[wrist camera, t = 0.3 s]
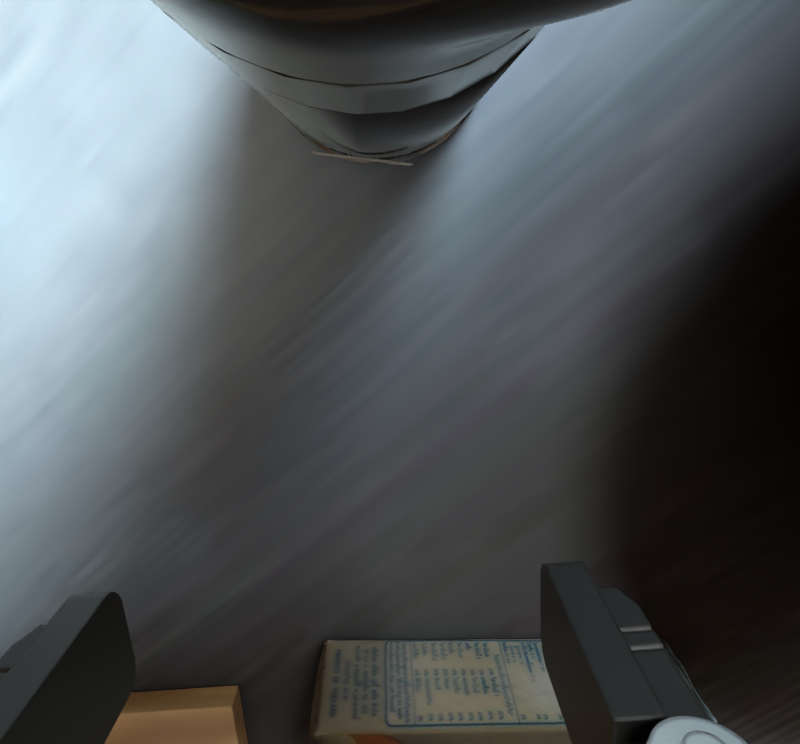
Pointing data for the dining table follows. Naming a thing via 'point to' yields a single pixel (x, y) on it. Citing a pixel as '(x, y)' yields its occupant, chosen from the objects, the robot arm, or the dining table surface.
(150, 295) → the dining table surface
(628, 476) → the dining table surface
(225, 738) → the board
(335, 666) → the beverage carton
